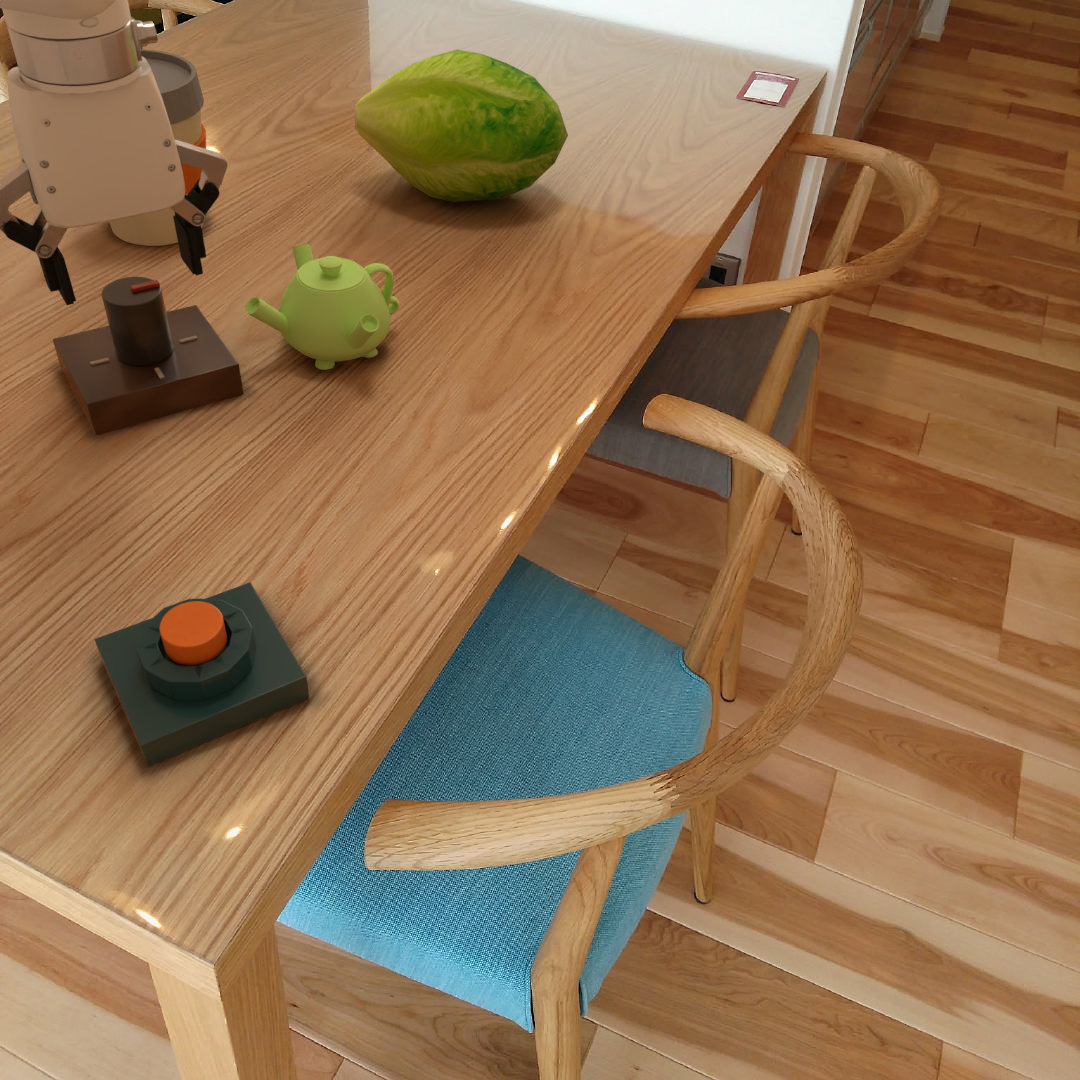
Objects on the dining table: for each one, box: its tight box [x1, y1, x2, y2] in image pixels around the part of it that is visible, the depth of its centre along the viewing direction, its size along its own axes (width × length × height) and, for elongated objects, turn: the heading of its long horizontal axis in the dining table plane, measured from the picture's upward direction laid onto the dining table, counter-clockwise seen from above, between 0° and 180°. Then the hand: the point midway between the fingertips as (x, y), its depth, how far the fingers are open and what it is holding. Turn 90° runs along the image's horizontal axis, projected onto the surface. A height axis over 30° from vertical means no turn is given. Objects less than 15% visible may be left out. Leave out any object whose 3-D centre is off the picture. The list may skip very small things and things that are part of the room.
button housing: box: [94, 581, 310, 768], centre depth 62 cm, size 10×9×4 cm
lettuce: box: [353, 49, 569, 203], centre depth 109 cm, size 15×23×16 cm
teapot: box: [245, 243, 400, 371], centre depth 88 cm, size 11×12×8 cm
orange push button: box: [160, 601, 227, 665], centre depth 60 cm, size 4×4×2 cm
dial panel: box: [52, 304, 244, 435], centre depth 84 cm, size 12×10×3 cm
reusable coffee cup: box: [108, 48, 207, 247], centre depth 99 cm, size 13×13×15 cm
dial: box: [100, 276, 173, 366], centre depth 81 cm, size 4×4×6 cm
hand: (131, 281), depth 79 cm, fingers open, 9 cm apart
